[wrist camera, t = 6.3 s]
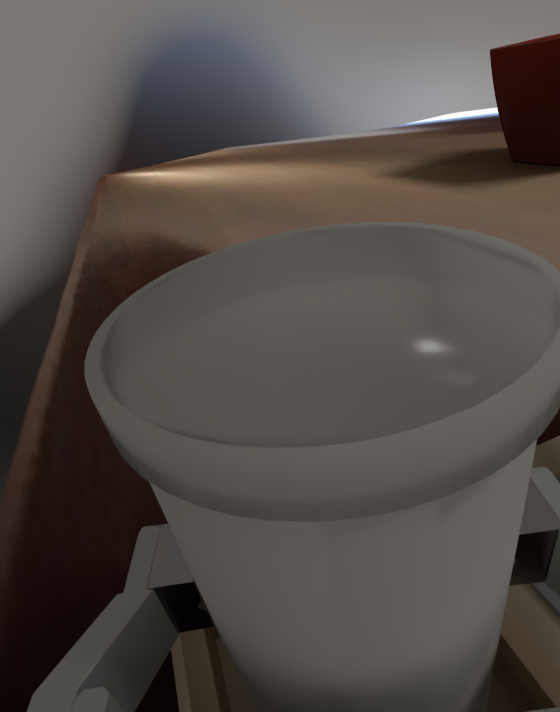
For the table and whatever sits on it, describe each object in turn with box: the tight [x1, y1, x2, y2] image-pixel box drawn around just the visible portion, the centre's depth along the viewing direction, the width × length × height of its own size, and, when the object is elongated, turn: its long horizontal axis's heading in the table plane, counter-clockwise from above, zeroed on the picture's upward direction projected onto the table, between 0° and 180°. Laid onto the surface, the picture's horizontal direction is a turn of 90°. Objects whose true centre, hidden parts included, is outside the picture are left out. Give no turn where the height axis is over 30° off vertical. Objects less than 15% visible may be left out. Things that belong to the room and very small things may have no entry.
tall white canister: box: [85, 222, 560, 712], centre depth 12 cm, size 10×7×15 cm
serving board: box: [171, 436, 560, 712], centre depth 16 cm, size 24×13×4 cm, turn 110°
